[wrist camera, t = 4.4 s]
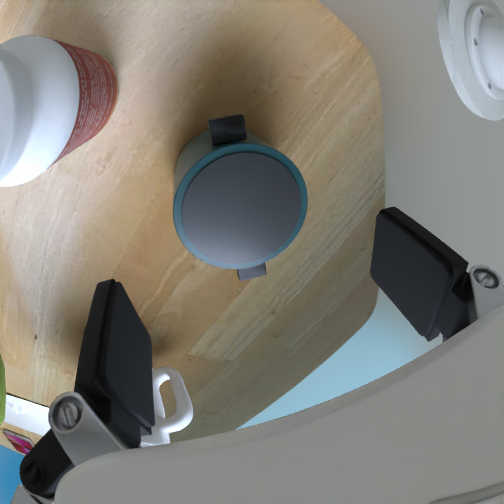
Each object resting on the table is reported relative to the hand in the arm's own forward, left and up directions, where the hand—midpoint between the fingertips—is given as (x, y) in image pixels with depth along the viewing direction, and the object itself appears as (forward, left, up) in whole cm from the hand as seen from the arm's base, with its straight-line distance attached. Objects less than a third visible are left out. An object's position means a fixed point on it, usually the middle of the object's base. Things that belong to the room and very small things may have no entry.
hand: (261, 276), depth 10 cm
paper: (+40, +29, -11) cm, 50 cm away
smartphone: (+59, +43, -11) cm, 73 cm away
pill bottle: (+8, -8, -11) cm, 16 cm away
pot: (0, 0, -11) cm, 11 cm away
